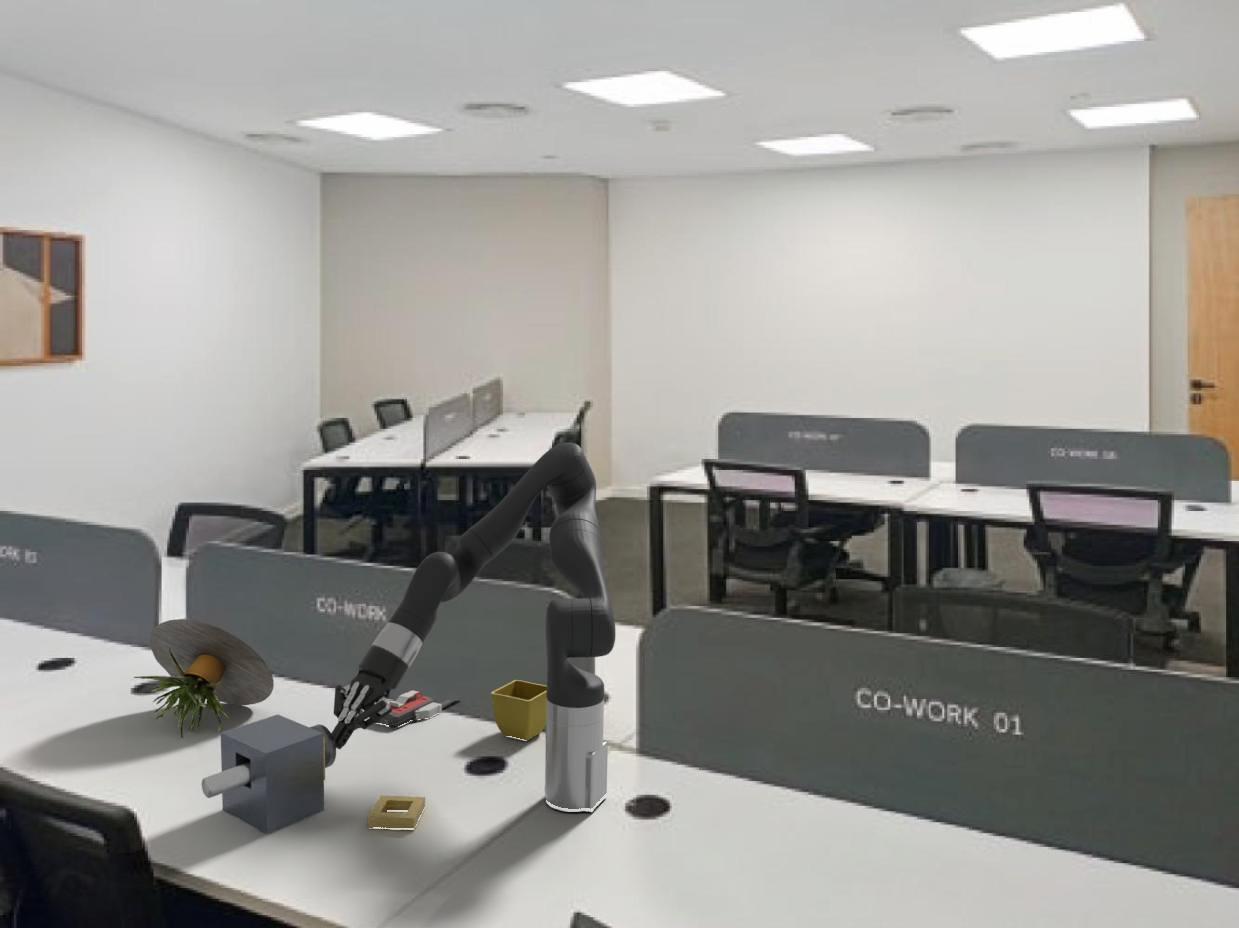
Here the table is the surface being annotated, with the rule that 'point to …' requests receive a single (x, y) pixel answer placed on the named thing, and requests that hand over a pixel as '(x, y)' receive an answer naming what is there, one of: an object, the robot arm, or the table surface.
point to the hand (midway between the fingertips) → (333, 745)
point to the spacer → (396, 820)
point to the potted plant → (206, 669)
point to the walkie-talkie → (411, 709)
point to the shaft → (243, 772)
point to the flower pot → (520, 709)
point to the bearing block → (275, 772)
